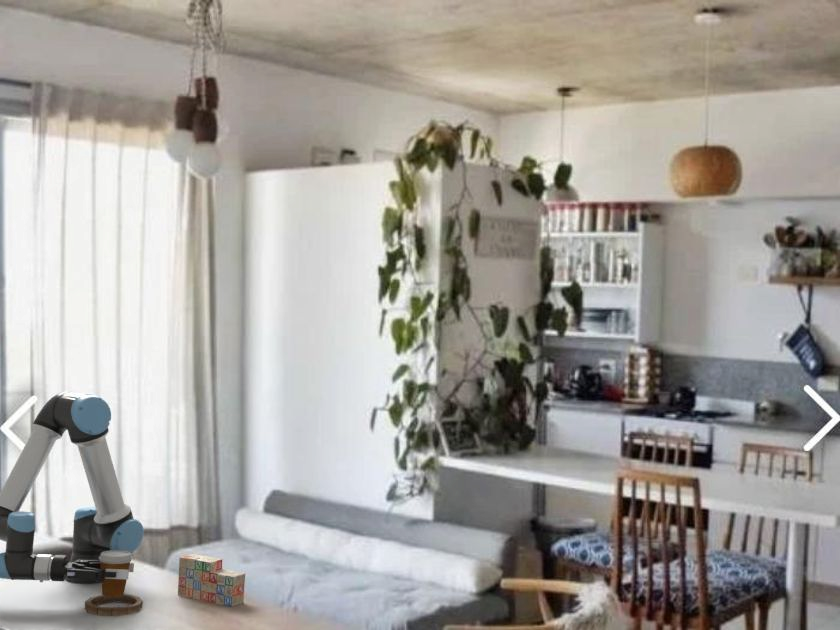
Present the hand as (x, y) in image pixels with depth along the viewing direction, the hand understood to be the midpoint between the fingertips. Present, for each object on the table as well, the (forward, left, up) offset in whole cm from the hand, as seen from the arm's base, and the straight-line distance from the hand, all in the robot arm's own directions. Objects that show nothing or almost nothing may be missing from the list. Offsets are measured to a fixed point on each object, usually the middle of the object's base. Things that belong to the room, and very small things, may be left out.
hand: (131, 571), depth 309 cm
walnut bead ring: (+3, -4, -11) cm, 12 cm away
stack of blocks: (-24, +10, -12) cm, 29 cm away
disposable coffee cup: (+3, -4, -7) cm, 9 cm away
